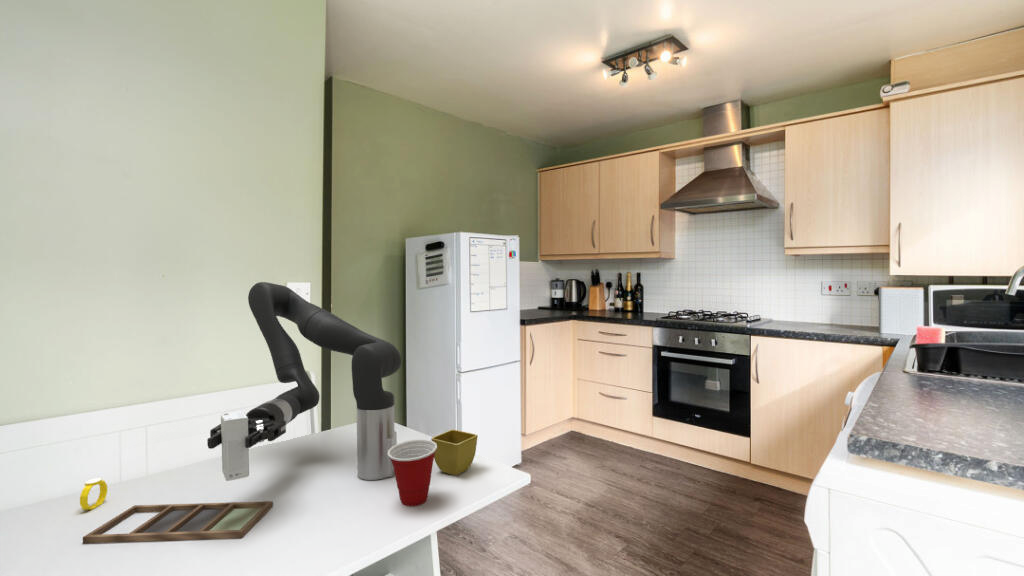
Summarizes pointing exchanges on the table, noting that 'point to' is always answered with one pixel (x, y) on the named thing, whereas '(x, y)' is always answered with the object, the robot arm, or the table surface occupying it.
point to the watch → (86, 490)
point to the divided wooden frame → (186, 522)
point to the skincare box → (234, 445)
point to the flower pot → (455, 451)
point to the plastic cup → (413, 469)
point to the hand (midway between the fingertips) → (228, 443)
